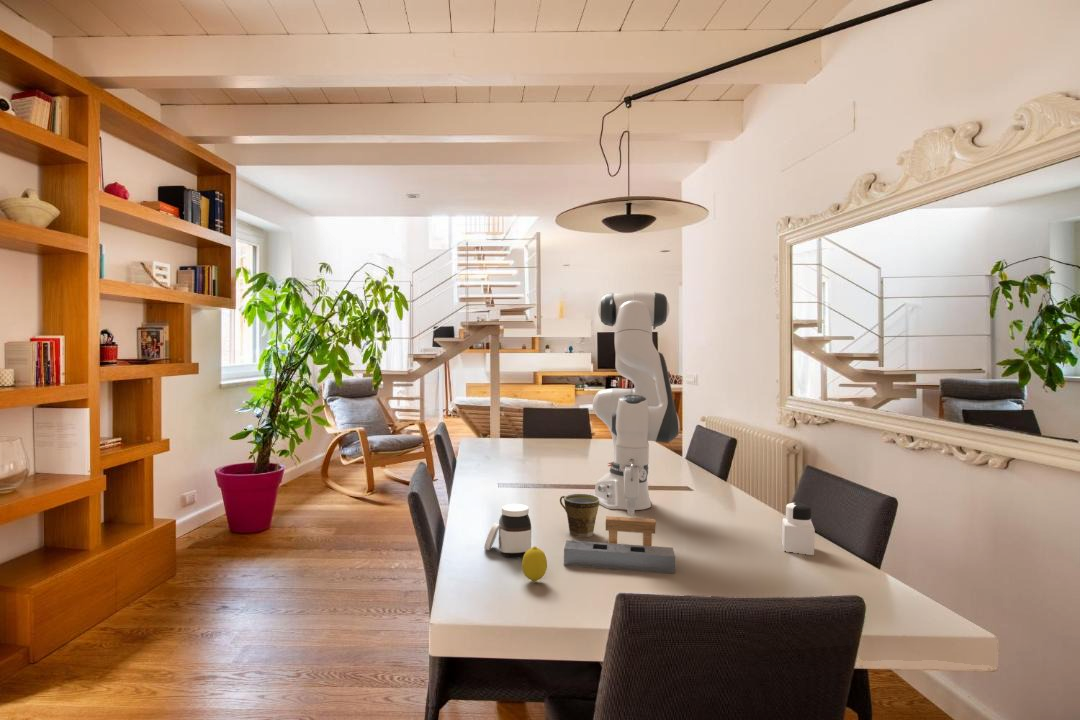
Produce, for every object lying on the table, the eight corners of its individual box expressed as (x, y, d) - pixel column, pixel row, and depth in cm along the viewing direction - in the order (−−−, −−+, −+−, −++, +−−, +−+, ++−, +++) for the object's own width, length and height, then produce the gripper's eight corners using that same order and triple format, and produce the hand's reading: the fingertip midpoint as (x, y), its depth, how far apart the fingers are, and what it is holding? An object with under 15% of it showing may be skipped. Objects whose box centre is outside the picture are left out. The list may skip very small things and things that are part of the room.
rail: (563, 565, 136) (564, 548, 136) (566, 556, 142) (566, 540, 142) (674, 573, 132) (674, 556, 132) (672, 563, 138) (672, 547, 138)
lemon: (521, 577, 128) (521, 542, 128) (545, 577, 129) (546, 542, 128) (522, 587, 123) (523, 551, 122) (547, 587, 123) (548, 550, 123)
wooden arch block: (605, 545, 150) (605, 519, 150) (605, 541, 153) (606, 516, 152) (655, 548, 148) (655, 522, 148) (654, 545, 151) (655, 519, 151)
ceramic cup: (605, 533, 159) (606, 498, 159) (583, 542, 152) (584, 505, 152) (570, 523, 168) (571, 490, 168) (548, 530, 161) (548, 496, 161)
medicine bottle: (810, 546, 151) (811, 502, 151) (814, 556, 145) (815, 509, 144) (781, 543, 154) (783, 499, 154) (784, 552, 147) (785, 506, 147)
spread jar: (534, 558, 140) (535, 512, 139) (489, 563, 136) (490, 515, 136) (522, 542, 151) (522, 499, 151) (480, 546, 148) (481, 502, 148)
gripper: (645, 464, 139) (644, 520, 139) (642, 451, 159) (641, 500, 159) (619, 462, 140) (618, 518, 140) (620, 450, 160) (619, 499, 160)
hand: (630, 508), depth 150 cm, fingers open, 8 cm apart
